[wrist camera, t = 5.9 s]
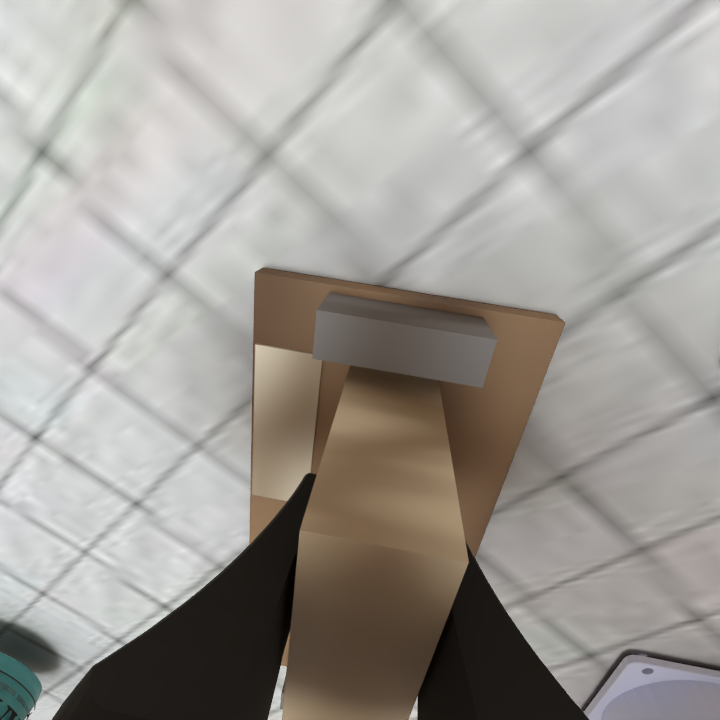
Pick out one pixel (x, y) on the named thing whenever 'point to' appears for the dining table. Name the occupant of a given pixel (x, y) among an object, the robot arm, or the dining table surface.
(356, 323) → the brown board with blocks
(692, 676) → the robot arm
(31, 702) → the beverage bottle
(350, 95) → the dining table surface
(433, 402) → the tall tan box
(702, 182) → the dining table surface
